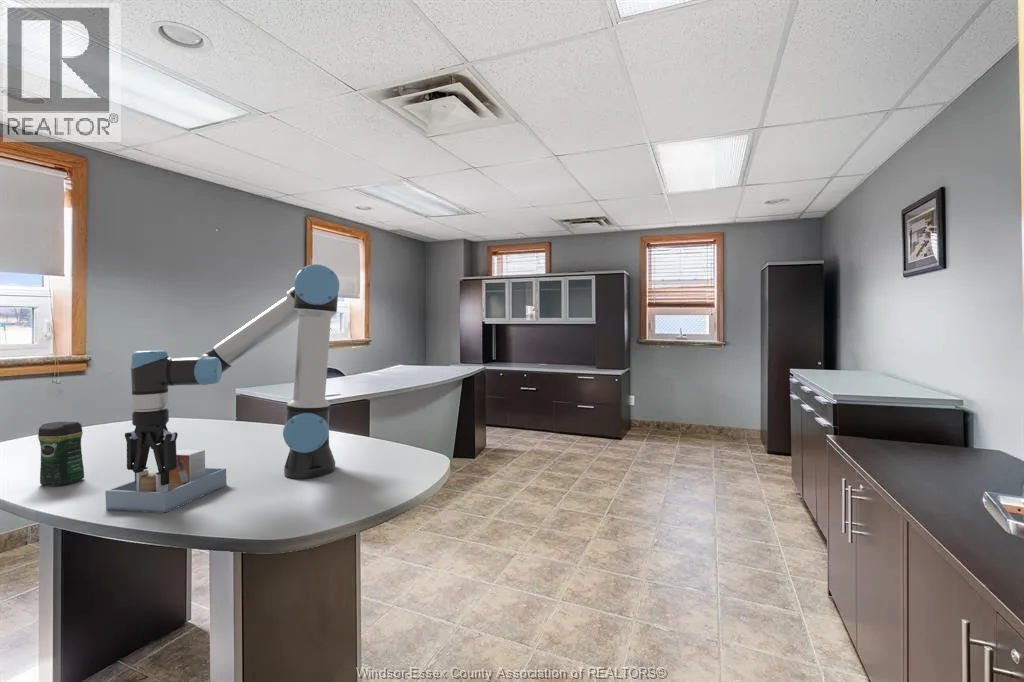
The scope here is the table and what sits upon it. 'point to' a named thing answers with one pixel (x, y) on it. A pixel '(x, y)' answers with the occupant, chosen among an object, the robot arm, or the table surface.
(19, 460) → the table surface
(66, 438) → the coffee jar
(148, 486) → the tan wooden block
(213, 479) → the tray
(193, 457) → the small box
